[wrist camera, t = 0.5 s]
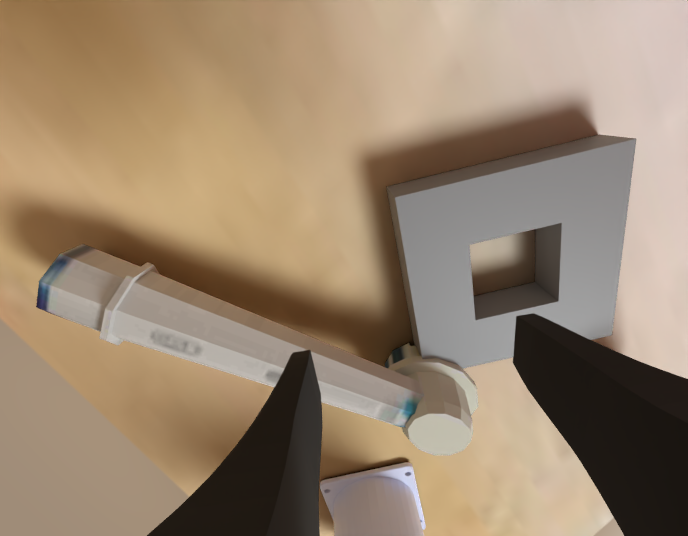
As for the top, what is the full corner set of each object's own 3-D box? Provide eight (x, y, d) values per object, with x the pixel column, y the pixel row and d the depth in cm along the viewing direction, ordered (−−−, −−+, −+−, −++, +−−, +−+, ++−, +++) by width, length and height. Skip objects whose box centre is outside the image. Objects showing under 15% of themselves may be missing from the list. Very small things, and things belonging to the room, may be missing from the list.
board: (584, 313, 24) (611, 335, 22) (415, 352, 25) (425, 376, 23) (599, 134, 19) (636, 138, 17) (386, 186, 20) (395, 197, 18)
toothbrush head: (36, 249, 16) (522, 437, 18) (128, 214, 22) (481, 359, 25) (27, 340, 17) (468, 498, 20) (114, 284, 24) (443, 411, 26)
